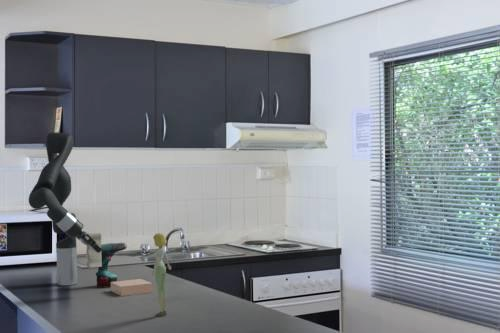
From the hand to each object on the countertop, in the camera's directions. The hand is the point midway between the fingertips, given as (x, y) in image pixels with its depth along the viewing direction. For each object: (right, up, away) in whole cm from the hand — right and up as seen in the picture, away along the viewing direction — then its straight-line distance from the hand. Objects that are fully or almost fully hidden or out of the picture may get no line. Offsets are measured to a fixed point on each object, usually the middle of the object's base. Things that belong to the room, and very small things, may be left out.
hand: (98, 250), depth 299 cm
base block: (+13, -19, +5) cm, 24 cm away
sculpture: (+33, -19, -44) cm, 58 cm away
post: (-1, -7, -1) cm, 7 cm away
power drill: (+2, -19, +20) cm, 28 cm away
